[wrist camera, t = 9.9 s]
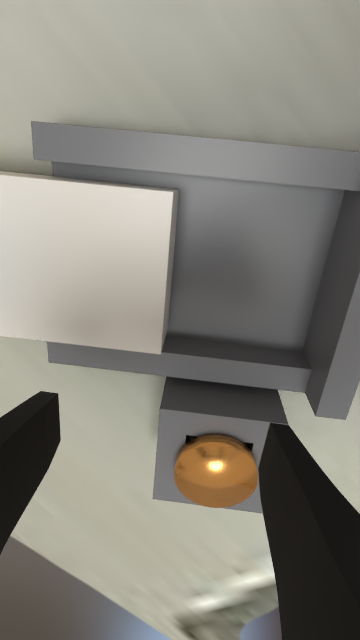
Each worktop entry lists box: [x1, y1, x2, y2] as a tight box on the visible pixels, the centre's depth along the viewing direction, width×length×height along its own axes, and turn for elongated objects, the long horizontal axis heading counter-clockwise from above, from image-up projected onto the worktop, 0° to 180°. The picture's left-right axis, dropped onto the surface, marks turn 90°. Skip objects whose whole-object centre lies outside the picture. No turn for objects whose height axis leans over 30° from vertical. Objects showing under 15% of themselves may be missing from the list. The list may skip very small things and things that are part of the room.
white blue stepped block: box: [0, 171, 179, 354], centre depth 15 cm, size 12×8×8 cm, turn 85°
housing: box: [31, 121, 360, 513], centre depth 19 cm, size 16×19×5 cm
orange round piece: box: [174, 435, 258, 508], centre depth 20 cm, size 4×4×4 cm
